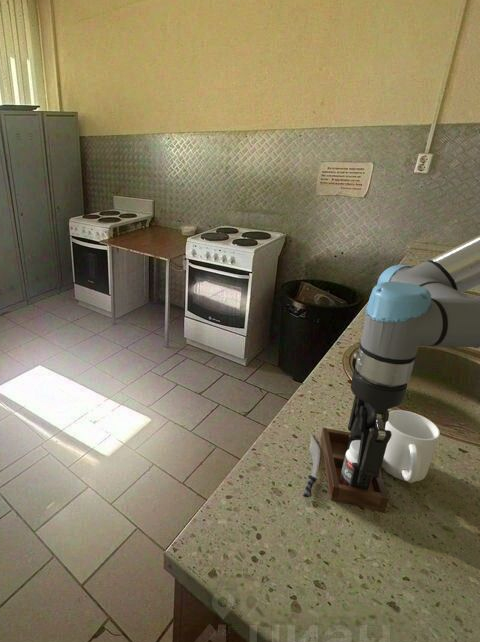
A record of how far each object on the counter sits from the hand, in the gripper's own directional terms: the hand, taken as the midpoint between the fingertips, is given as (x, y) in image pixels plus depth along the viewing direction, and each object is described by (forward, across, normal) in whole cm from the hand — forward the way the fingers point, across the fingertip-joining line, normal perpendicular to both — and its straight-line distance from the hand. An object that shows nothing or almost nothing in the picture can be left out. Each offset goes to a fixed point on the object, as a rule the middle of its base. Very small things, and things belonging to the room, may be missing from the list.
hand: (354, 481), depth 73 cm
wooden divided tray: (+1, -4, 0) cm, 4 cm away
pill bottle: (+1, 0, 0) cm, 1 cm away
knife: (+2, -4, -7) cm, 8 cm away
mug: (+2, -6, +9) cm, 12 cm away
